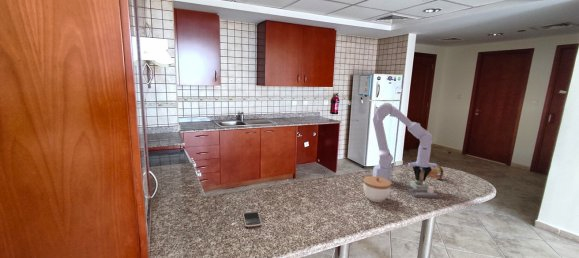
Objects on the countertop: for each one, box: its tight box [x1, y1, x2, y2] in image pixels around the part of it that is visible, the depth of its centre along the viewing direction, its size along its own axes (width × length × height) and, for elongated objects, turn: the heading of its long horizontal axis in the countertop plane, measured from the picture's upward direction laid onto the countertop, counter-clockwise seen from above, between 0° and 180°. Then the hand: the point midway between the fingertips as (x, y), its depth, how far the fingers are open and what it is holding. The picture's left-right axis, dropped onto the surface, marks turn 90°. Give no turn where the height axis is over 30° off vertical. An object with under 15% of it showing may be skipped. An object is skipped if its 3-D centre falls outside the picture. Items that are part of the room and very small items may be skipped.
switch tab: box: [427, 185, 435, 193], centre depth 135 cm, size 2×3×3 cm, turn 1°
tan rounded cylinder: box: [416, 170, 425, 185], centre depth 143 cm, size 3×3×8 cm
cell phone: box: [242, 211, 262, 228], centre depth 107 cm, size 6×11×1 cm, turn 16°
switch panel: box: [407, 188, 439, 199], centre depth 136 cm, size 12×7×2 cm, turn 91°
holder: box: [410, 180, 429, 189], centre depth 144 cm, size 6×6×3 cm
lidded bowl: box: [363, 175, 392, 203], centre depth 129 cm, size 13×13×11 cm
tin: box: [419, 161, 444, 180], centre depth 162 cm, size 15×3×8 cm, turn 25°
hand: (420, 180), depth 143 cm, fingers closed on tan rounded cylinder, 3 cm apart
